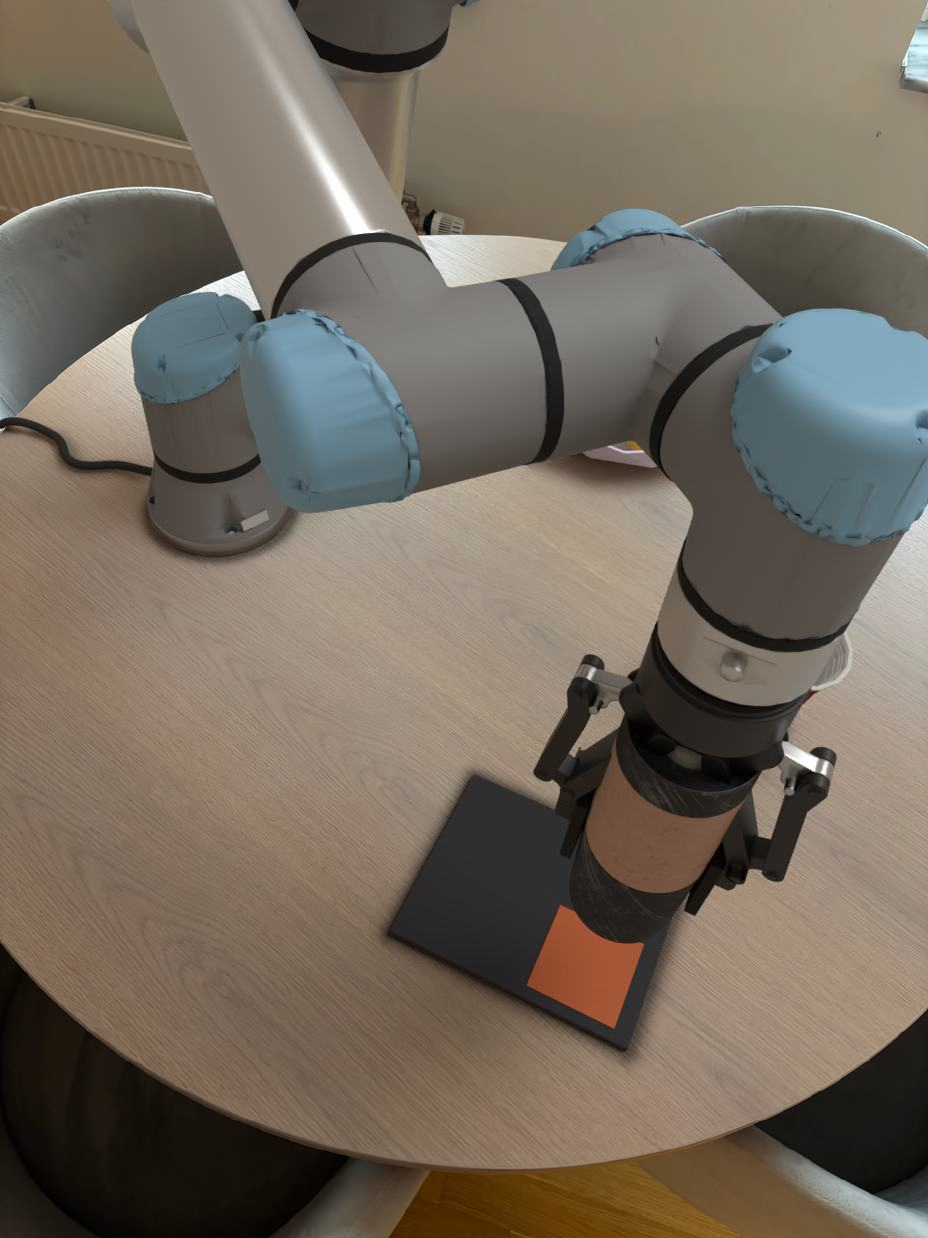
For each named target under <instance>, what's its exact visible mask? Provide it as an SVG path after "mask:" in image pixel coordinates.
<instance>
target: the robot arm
mask: <svg viewBox="0 0 928 1238" xmlns="http://www.w3.org/2000/svg"><path fill="white" fill-rule="evenodd" d="M106 1H107V4H108V6H109V8H110V11H111V12H112V14H113V16H114V19H115V21H116V22H117V23H118V25H119V26H120V28H121V29H122V31H123V32H124V33H125V34H126V36H128V38H129V39H130V40H131V41H132V42H133V43H134V44H135V45H137V46H138V47H139V49H141V50H143V51H144V52H145V53H147V54H148V55H150V56H151V59H152V61H153V63H154V66H155V68H156V70H157V73H158V75H159V78H160V81H161V82H162V84H163V87H164V89H165V91H166V93H167V96H168V98H169V101H170V103H171V106H172V108H173V110H174V112H175V114H176V117H177V120H178V121H179V123H180V126H181V128H182V130H183V131H182V132H183V133H184V135H185V138H186V140H187V142H188V144H189V147H190V149H191V151H192V154H193V156H194V158H195V160H196V163H197V165H198V167H199V170H200V171H201V175H202V176H203V179H204V181H205V183H206V185H207V188H208V190H209V193H210V195H211V197H212V200H213V202H214V205H215V207H216V210H217V211H218V214H219V216H220V218H221V220H222V223H223V225H224V228H225V230H226V232H227V234H228V236H229V237H228V238H230V241H231V244H232V246H233V248H234V251H235V253H236V255H237V258H238V260H239V262H240V265H241V267H242V269H243V271H244V274H245V276H246V279H247V281H248V283H249V286H250V287H251V290H252V292H253V295H254V297H255V299H256V301H257V304H258V306H259V309H255V310H254V309H253V310H252V309H251V308H250V306H249V305H248V304H247V303H246V302H245V301H244V300H242V299H241V298H240V297H237V296H235V295H232V294H228V293H223V294H222V295H219V294H218V292H216V291H201V292H193V293H187V294H184V295H179V296H177V297H175V298H172V299H170V300H167V301H166V302H163V303H161V304H160V305H158V306H156V307H155V308H154V309H153V310H151V311H149V312H148V313H147V314H146V316H145V318H144V319H143V320H141V322H139V324H138V325H137V327H136V328H135V331H134V333H133V334H132V335H133V336H132V338H131V345H130V351H131V352H130V354H131V359H132V365H133V366H132V367H133V382H134V383H133V384H134V386H135V389H136V391H137V393H138V395H140V401H141V404H142V409H143V413H144V418H145V422H146V426H147V427H146V428H147V432H148V435H149V440H150V445H151V449H152V453H153V462H152V463H153V464H152V467H151V466H146V465H142V464H137V463H134V462H129V461H126V460H125V461H124V460H113V459H112V460H93V461H91V460H90V461H89V460H80V459H78V458H76V457H73V456H72V455H71V454H70V451H69V448H68V444H67V442H66V440H65V438H64V437H63V436H62V435H61V434H60V433H59V432H57V431H55V430H54V429H52V428H50V427H48V426H46V425H44V424H42V423H39V422H38V421H34V420H32V419H28V418H23V417H18V416H9V417H4V418H2V419H0V430H3V429H6V428H8V427H12V426H13V427H14V426H15V427H22V428H25V429H29V430H31V431H34V432H37V433H39V434H42V435H43V436H45V437H47V438H49V439H50V440H52V441H54V442H55V444H56V445H57V448H58V453H59V455H60V458H61V459H62V461H63V462H64V463H65V464H67V465H68V466H70V467H71V468H74V469H78V470H84V471H102V470H120V471H126V472H130V473H135V474H138V475H143V476H146V477H150V480H149V485H148V489H147V496H146V504H147V511H148V514H149V518H150V522H151V524H152V526H153V528H154V530H155V532H156V533H157V534H158V535H159V537H160V538H162V539H163V540H164V541H165V542H166V543H168V544H170V545H171V546H173V547H174V548H176V549H179V550H180V551H184V552H187V553H189V554H195V555H200V556H209V557H215V556H217V557H218V556H221V557H222V556H230V555H236V554H240V553H245V552H247V551H251V550H253V549H256V548H258V547H259V546H261V545H264V544H266V543H267V542H268V541H270V540H271V539H272V538H274V537H275V536H276V535H277V534H278V533H279V532H280V531H281V530H282V529H283V528H284V526H285V525H286V523H287V522H288V520H289V518H290V516H291V512H292V510H295V511H298V512H300V513H305V514H319V513H325V512H331V511H337V510H338V511H339V510H340V511H341V510H345V509H351V508H357V507H358V508H359V507H363V506H368V505H376V504H381V503H383V504H384V503H385V504H386V503H387V504H391V503H397V502H401V501H403V500H404V499H405V498H408V497H410V496H411V495H414V494H417V493H422V492H425V491H429V490H433V489H437V488H441V487H445V486H448V485H449V486H450V485H452V484H456V483H460V482H464V481H468V480H472V479H476V478H480V477H483V476H487V475H490V474H495V473H498V472H502V471H506V470H511V469H514V468H518V467H521V466H529V465H532V464H539V463H540V464H541V463H544V462H549V461H552V460H553V461H554V460H557V459H561V458H565V457H569V456H573V455H577V454H583V453H582V452H586V451H590V450H594V449H599V448H603V447H607V446H611V445H614V444H618V443H623V442H627V441H634V442H636V443H637V444H638V446H639V447H640V448H641V449H642V450H643V451H644V452H645V453H646V454H647V455H648V456H649V457H650V459H651V460H652V461H653V462H654V463H655V464H656V465H657V468H658V469H659V470H660V471H661V472H662V474H663V475H664V476H665V477H666V478H667V479H668V480H669V481H670V482H672V483H673V484H674V485H675V486H676V487H677V489H679V491H680V492H681V493H682V494H683V496H684V497H685V498H686V499H687V501H688V502H689V503H690V506H691V508H692V516H691V520H690V524H689V527H688V530H687V533H686V536H685V538H684V540H683V543H682V546H681V550H680V552H679V555H678V558H677V560H676V564H675V565H674V569H673V572H672V575H671V578H670V580H669V584H668V586H667V589H666V592H665V594H664V598H663V600H662V603H661V606H660V609H659V611H658V615H657V620H656V621H655V624H654V625H653V629H652V630H651V631H652V632H651V635H650V638H649V640H648V643H647V646H646V648H645V650H644V651H645V652H644V655H643V656H642V659H641V662H640V666H639V667H638V668H636V669H633V670H632V671H630V673H628V674H627V676H626V675H622V674H619V673H614V672H610V671H607V670H606V669H605V667H606V666H605V661H604V660H603V659H602V658H601V657H599V656H598V655H596V654H592V653H589V654H585V655H584V656H583V657H582V659H581V661H580V663H579V665H578V668H577V669H576V671H575V673H574V675H573V676H572V677H573V678H572V679H571V681H570V683H569V685H568V688H567V690H566V703H567V707H566V709H565V710H564V712H563V714H562V716H561V718H560V719H559V721H558V722H557V725H556V726H555V727H554V729H553V732H552V733H551V735H550V737H549V738H548V740H547V742H546V744H545V746H544V748H543V750H542V752H541V754H540V756H539V758H538V760H537V762H536V764H535V766H534V769H533V771H532V774H533V775H534V777H535V778H536V779H537V780H539V781H541V782H544V783H549V782H551V781H553V782H555V783H556V784H557V786H559V794H558V796H557V797H558V798H557V801H556V805H555V806H554V807H555V808H554V810H555V812H556V814H557V815H558V816H560V817H563V818H565V819H567V820H569V821H570V823H569V826H568V829H567V832H566V835H565V838H564V841H563V844H562V847H561V850H560V853H559V854H560V855H562V856H564V857H567V858H569V859H570V858H571V856H572V853H573V851H574V849H575V846H576V844H577V842H578V840H579V837H580V835H581V833H582V830H583V827H584V823H585V820H586V816H587V813H588V810H589V807H590V805H591V802H592V799H593V797H594V794H595V791H596V789H597V787H598V786H600V785H601V783H602V781H603V778H604V775H605V773H606V770H607V768H608V765H609V762H610V760H611V757H612V753H611V751H612V746H613V743H614V741H615V738H616V735H617V733H618V730H619V727H617V728H615V729H614V730H612V731H611V732H610V733H608V734H606V735H605V736H604V737H601V739H599V740H597V741H596V742H594V743H593V744H591V745H590V746H588V747H586V748H585V749H582V747H581V746H579V747H578V749H577V750H576V753H575V755H574V756H573V755H572V754H571V753H570V752H571V751H572V749H573V748H574V746H575V744H576V743H577V741H578V740H579V738H580V737H581V735H582V733H583V732H584V730H585V729H586V727H587V725H588V723H589V721H590V719H591V716H592V715H594V716H596V715H598V714H599V713H600V711H601V710H605V709H607V708H608V707H609V705H610V703H612V702H618V703H619V705H620V707H621V709H622V711H623V712H624V714H626V716H627V718H628V720H629V721H630V723H631V725H632V727H633V728H634V730H635V732H636V733H637V734H638V735H639V736H641V738H639V740H638V743H637V745H636V746H639V747H641V748H643V749H646V750H648V751H650V752H653V753H655V754H658V755H660V756H665V755H667V754H669V753H671V752H672V751H674V750H675V749H676V746H677V745H679V746H681V747H684V748H686V749H689V750H691V751H693V752H695V753H698V754H700V755H702V759H701V765H702V770H703V773H704V774H705V775H708V776H710V777H712V778H715V779H717V780H720V781H722V782H724V783H727V784H729V785H731V782H732V779H733V775H735V776H740V775H745V774H749V773H754V772H758V771H762V772H764V771H766V770H767V771H768V770H771V769H774V768H776V767H778V768H779V769H780V771H781V773H780V777H779V779H780V782H781V783H782V784H783V785H784V786H783V790H782V791H783V794H784V796H783V798H782V802H781V806H780V809H779V812H778V814H777V817H776V821H775V824H774V828H773V831H772V834H771V837H770V838H767V837H764V836H759V834H760V833H759V828H758V819H757V814H756V807H755V801H754V795H753V789H752V790H751V791H750V793H749V795H748V797H747V798H746V800H745V802H744V803H743V805H742V807H741V808H740V809H739V810H738V812H737V813H736V815H735V817H734V819H733V820H732V822H731V824H730V825H729V827H728V829H727V831H726V832H725V834H724V836H723V838H722V841H721V843H720V845H719V847H718V848H717V850H716V852H715V853H714V855H713V857H712V859H711V860H710V862H709V864H708V865H707V867H706V869H705V870H704V872H703V873H702V875H701V876H700V878H699V879H698V881H697V882H696V883H695V885H694V886H693V888H692V889H691V891H690V892H689V893H688V895H687V899H686V902H685V904H684V905H685V906H684V909H683V912H684V913H686V914H689V915H691V916H693V917H696V916H697V915H698V913H699V911H700V909H701V908H702V907H703V905H704V903H705V902H706V900H707V899H708V897H709V895H710V893H711V892H712V891H713V889H714V887H718V888H721V889H723V890H725V891H727V892H729V891H731V890H734V889H735V888H736V886H737V885H738V886H741V885H744V884H745V883H746V880H747V877H748V875H749V874H748V873H749V870H757V871H761V875H762V876H763V878H765V879H766V880H768V881H770V882H773V883H781V882H783V881H784V879H785V878H786V874H787V873H788V872H787V871H788V869H789V865H790V863H791V860H792V857H793V854H794V852H795V849H796V846H797V843H798V840H799V838H800V834H801V832H802V828H803V826H804V824H805V820H806V818H807V815H808V813H809V811H812V810H813V809H814V808H815V807H816V806H818V805H819V804H821V803H822V802H823V801H824V800H826V799H827V798H828V796H829V792H830V788H831V783H832V779H833V775H834V772H835V769H836V768H835V767H836V763H837V758H838V756H837V754H836V752H835V751H834V750H832V749H831V748H828V747H826V746H816V747H814V748H813V749H811V750H810V751H807V750H806V749H803V748H801V747H799V746H798V745H795V744H794V743H792V742H791V741H789V739H790V737H789V735H790V734H789V731H788V730H789V728H790V726H791V725H792V723H793V721H794V720H795V718H796V716H797V715H798V713H799V712H800V710H801V708H802V706H803V705H804V704H805V703H804V701H805V700H806V698H807V696H808V695H809V693H810V690H811V688H812V686H813V685H814V684H815V683H816V681H817V680H818V678H819V676H820V674H821V673H822V671H823V669H824V668H825V666H826V664H827V662H828V661H829V659H830V657H831V655H832V654H833V652H834V650H835V648H836V647H837V645H838V643H839V642H840V640H841V638H842V636H843V635H844V633H845V631H846V632H847V630H848V627H849V626H850V624H851V623H852V620H853V618H854V617H855V616H856V613H858V612H859V610H860V607H861V604H862V602H863V601H864V600H865V598H866V596H867V594H868V593H869V591H870V590H871V589H872V586H873V585H874V583H876V580H877V578H878V577H879V575H880V574H881V572H882V571H883V569H884V568H885V566H886V564H887V563H888V561H889V560H890V558H891V556H892V555H893V553H894V552H895V551H896V548H897V547H898V545H899V544H900V542H901V541H902V539H903V537H904V535H906V534H907V532H909V531H910V529H911V527H912V524H913V523H914V522H916V521H918V520H920V518H921V517H922V516H923V514H924V511H925V510H926V508H927V506H928V339H927V338H926V337H925V336H923V335H922V334H920V333H919V332H916V331H914V330H903V329H899V328H896V327H894V326H891V325H890V324H889V322H888V321H887V320H886V319H885V317H883V316H880V315H877V314H873V313H869V312H866V311H860V310H857V309H849V308H841V307H839V308H837V307H835V308H811V309H805V310H801V311H798V312H794V313H792V314H789V315H786V316H782V315H781V314H780V313H779V312H778V311H777V310H775V308H774V307H773V306H771V305H770V303H768V302H767V301H766V300H765V299H764V298H763V297H762V296H761V295H759V293H758V292H756V290H754V289H753V288H752V287H751V286H750V285H749V283H748V282H746V281H745V280H744V279H743V278H742V277H741V276H739V275H738V273H737V272H736V271H735V270H734V269H732V268H731V266H729V265H728V263H727V261H726V260H725V258H723V256H722V255H721V253H720V252H718V251H717V250H716V249H715V248H714V247H712V246H709V245H708V244H707V243H706V242H705V241H704V240H703V239H702V238H699V237H696V238H695V236H693V235H692V234H690V233H689V232H688V231H687V230H685V229H684V228H683V227H681V226H680V225H679V224H677V223H676V222H675V221H674V220H672V219H671V218H670V217H668V216H666V215H665V214H662V213H660V212H657V211H654V210H651V209H645V208H626V209H621V210H616V211H613V212H610V213H608V214H606V215H603V216H601V217H600V219H599V221H597V222H596V223H595V224H593V225H592V226H591V227H589V228H588V229H587V230H585V231H579V232H578V233H576V234H574V235H573V236H572V237H571V238H570V239H569V241H568V242H567V243H566V244H565V245H564V247H563V248H562V249H561V251H559V253H558V255H557V257H556V258H555V260H554V261H553V263H552V264H551V267H550V270H549V271H543V272H537V273H532V274H531V273H530V274H526V275H519V276H514V277H506V278H502V279H501V278H500V279H495V280H491V281H484V282H478V283H471V284H464V285H459V286H452V287H451V286H448V284H447V283H446V280H445V279H444V276H443V275H442V273H441V271H440V270H439V268H438V267H436V265H435V263H434V261H433V260H432V258H431V256H430V255H429V252H428V251H427V248H425V245H424V244H423V242H422V240H421V239H420V236H419V234H418V232H417V231H416V229H415V228H414V226H413V224H412V222H411V220H410V218H409V216H408V215H407V213H406V211H405V210H404V207H403V206H402V201H403V195H404V189H405V188H404V187H405V182H406V174H407V168H408V167H407V166H408V161H409V152H410V147H411V146H410V145H411V140H412V139H411V138H412V131H413V126H414V118H415V112H416V103H417V99H418V98H417V97H418V90H419V83H420V77H421V70H423V69H425V68H427V67H428V66H430V65H431V64H434V63H435V61H436V60H437V59H438V58H439V57H440V56H441V55H442V52H443V51H444V49H445V48H446V45H447V42H448V36H449V31H450V23H451V19H452V14H453V13H452V12H453V8H454V7H455V6H456V5H459V6H460V7H462V8H470V7H471V6H472V4H474V3H478V2H480V1H481V0H106ZM803 703H804V704H803Z"/></svg>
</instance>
